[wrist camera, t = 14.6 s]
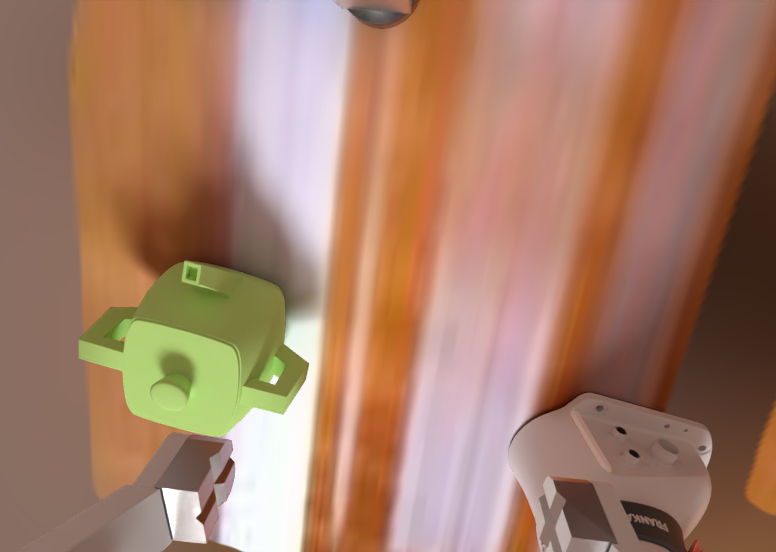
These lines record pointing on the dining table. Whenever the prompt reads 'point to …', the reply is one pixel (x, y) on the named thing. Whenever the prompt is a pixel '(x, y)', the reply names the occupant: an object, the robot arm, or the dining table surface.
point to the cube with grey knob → (377, 5)
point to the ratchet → (382, 17)
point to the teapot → (200, 349)
